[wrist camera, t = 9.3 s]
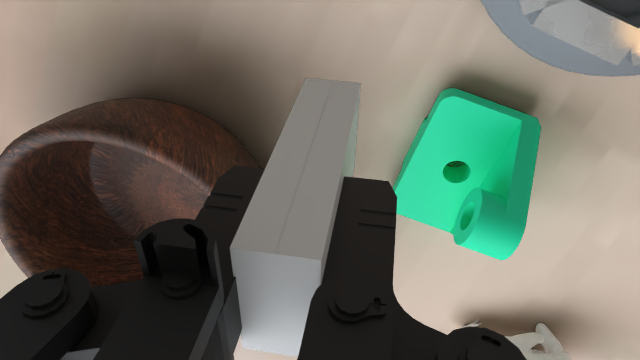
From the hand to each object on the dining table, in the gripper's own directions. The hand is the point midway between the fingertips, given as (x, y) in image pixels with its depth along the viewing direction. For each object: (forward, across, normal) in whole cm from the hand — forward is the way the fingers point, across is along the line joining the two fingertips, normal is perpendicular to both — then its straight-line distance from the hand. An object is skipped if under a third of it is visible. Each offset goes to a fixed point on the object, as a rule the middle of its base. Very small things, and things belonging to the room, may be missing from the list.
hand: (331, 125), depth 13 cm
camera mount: (+24, +8, -16) cm, 30 cm away
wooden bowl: (+24, -19, -23) cm, 39 cm away
